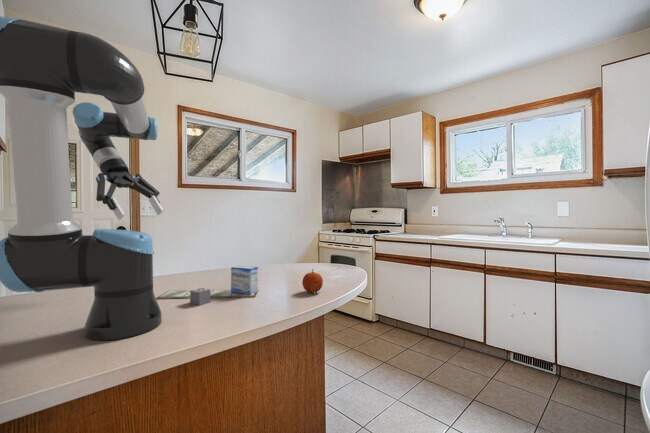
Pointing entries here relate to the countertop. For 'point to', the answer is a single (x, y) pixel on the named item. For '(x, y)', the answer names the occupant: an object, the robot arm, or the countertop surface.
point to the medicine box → (244, 280)
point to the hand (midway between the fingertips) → (142, 214)
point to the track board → (213, 294)
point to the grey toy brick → (200, 296)
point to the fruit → (312, 282)
